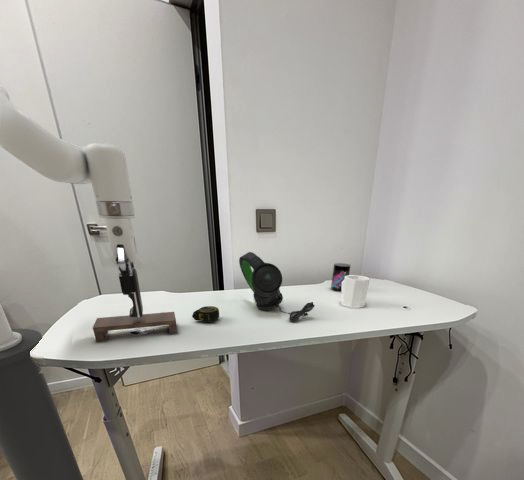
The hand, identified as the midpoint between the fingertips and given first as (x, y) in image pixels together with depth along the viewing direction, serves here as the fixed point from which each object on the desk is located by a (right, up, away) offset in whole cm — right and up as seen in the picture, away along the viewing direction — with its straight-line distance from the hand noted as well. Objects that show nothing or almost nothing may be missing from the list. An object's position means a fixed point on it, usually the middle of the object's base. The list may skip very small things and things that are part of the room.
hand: (130, 287), depth 74 cm
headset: (+37, -2, +25) cm, 45 cm away
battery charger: (0, -7, +3) cm, 7 cm away
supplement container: (+66, +10, +51) cm, 84 cm away
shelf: (0, -11, +6) cm, 13 cm away
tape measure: (+16, -7, +15) cm, 23 cm away
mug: (+66, +2, +35) cm, 75 cm away
